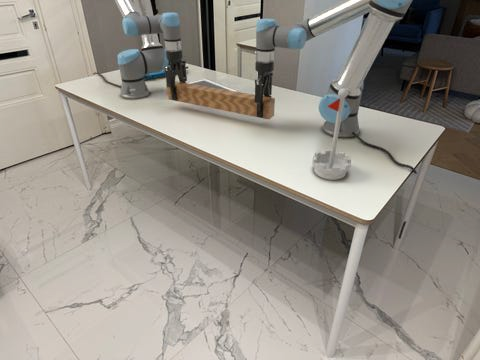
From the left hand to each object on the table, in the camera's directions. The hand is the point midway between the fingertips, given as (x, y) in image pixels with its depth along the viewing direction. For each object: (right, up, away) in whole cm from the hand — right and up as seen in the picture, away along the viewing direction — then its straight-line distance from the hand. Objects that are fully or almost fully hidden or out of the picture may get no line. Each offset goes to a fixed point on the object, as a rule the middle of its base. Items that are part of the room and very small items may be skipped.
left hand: (178, 98), depth 170 cm
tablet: (+12, +12, +28) cm, 33 cm away
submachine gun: (-21, +30, +56) cm, 67 cm away
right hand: (+41, -12, -20) cm, 47 cm away
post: (+20, -6, -9) cm, 23 cm away
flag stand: (+63, -38, -49) cm, 88 cm away
